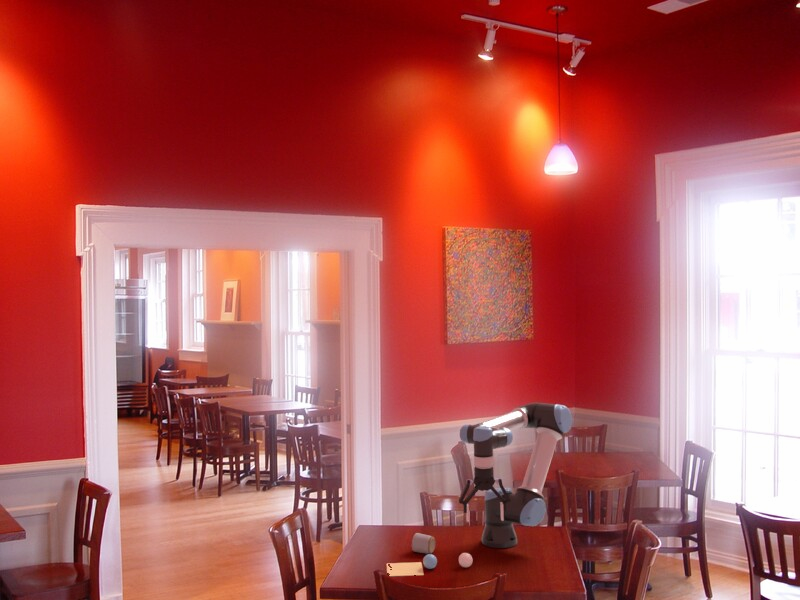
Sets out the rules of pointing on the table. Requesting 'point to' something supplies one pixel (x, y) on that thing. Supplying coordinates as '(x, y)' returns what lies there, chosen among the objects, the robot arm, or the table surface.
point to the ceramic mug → (423, 543)
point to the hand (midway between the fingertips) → (485, 520)
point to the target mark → (405, 569)
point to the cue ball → (465, 560)
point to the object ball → (430, 561)
